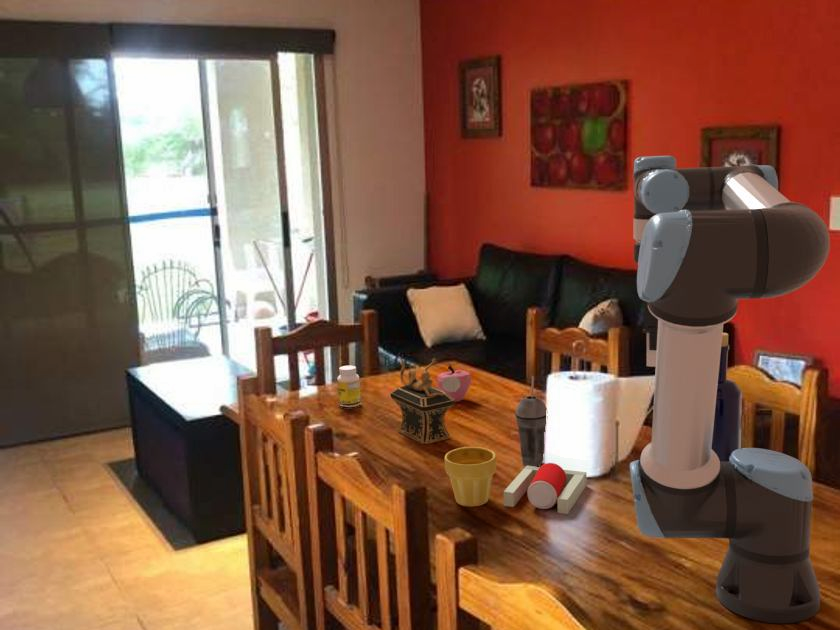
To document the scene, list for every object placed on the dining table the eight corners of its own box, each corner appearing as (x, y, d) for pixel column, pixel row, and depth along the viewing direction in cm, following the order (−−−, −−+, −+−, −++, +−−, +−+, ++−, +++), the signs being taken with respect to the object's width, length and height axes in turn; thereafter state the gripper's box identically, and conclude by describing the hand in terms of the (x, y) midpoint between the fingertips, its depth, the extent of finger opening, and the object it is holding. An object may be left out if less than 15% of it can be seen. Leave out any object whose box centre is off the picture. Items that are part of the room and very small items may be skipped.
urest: (567, 514, 174) (567, 499, 174) (504, 505, 180) (503, 491, 179) (586, 485, 188) (586, 472, 187) (526, 478, 193) (526, 465, 192)
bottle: (744, 478, 187) (747, 338, 181) (698, 477, 189) (700, 338, 183) (738, 462, 196) (741, 329, 190) (694, 461, 198) (696, 329, 192)
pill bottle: (335, 404, 254) (333, 366, 251) (356, 401, 256) (353, 363, 254) (343, 410, 248) (340, 371, 246) (364, 406, 251) (361, 368, 248)
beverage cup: (511, 466, 200) (509, 380, 196) (523, 456, 206) (521, 372, 203) (542, 471, 197) (540, 383, 193) (553, 460, 203) (552, 374, 199)
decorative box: (458, 439, 220) (455, 361, 216) (425, 448, 215) (421, 368, 211) (416, 419, 237) (413, 347, 233) (384, 427, 232) (380, 353, 228)
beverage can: (520, 500, 177) (532, 477, 188) (547, 517, 176) (558, 493, 187) (535, 475, 175) (547, 454, 186) (563, 493, 174) (573, 470, 185)
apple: (434, 404, 249) (432, 369, 247) (442, 395, 257) (441, 362, 255) (468, 406, 246) (466, 371, 244) (475, 397, 254) (474, 363, 252)
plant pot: (455, 514, 177) (453, 467, 175) (440, 495, 187) (438, 450, 185) (504, 506, 179) (503, 460, 178) (487, 487, 189) (485, 443, 187)
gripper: (671, 245, 158) (670, 375, 162) (679, 237, 170) (678, 358, 174) (628, 245, 161) (628, 373, 165) (639, 237, 172) (639, 356, 177)
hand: (654, 365), depth 169 cm, fingers closed
